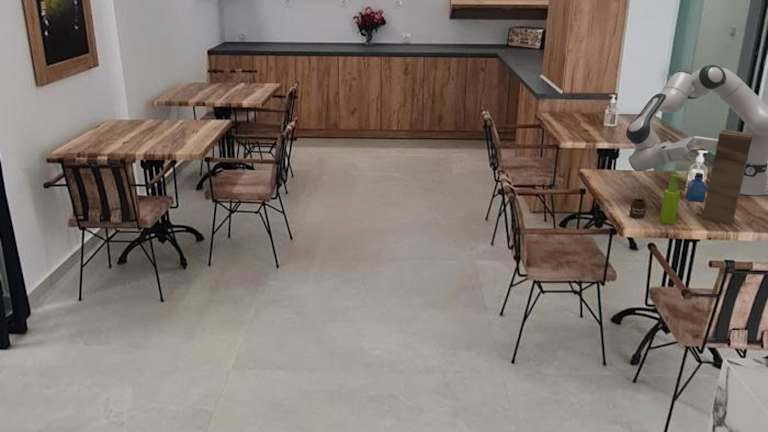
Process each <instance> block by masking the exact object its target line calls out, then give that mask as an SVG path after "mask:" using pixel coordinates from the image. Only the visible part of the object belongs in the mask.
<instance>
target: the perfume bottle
mask: <svg viewBox="0 0 768 432" xmlns="http://www.w3.org/2000/svg"><path fill="white" fill-rule="evenodd" d="M705 185H706V184H705V183H704V173H703V172H702V173H701V172H696V173H695V175H694V177H693V179H691V180H690V181H689V182H688V183H687V187H686V188H687V189H686V192H685V198H686V199H687V201H688V202H693V203H705V202H704V201H705V199H706V198H705V197H706V193H707V188H706V186H705Z"/></svg>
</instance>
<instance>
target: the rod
mask: <svg viewBox="0 0 768 432" xmlns="http://www.w3.org/2000/svg"><path fill="white" fill-rule="evenodd" d="M693 137H694V138H693V142H695V141H697V140H701V141H702V144H701V145H698V146H699V147H706V148H714V149H717V144H718V139H719V138H713V137H705V136H697V135H695V136H693Z"/></svg>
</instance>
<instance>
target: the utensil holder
mask: <svg viewBox="0 0 768 432" xmlns="http://www.w3.org/2000/svg"><path fill="white" fill-rule="evenodd" d="M650 191H651V189H648V191H647V192H646V194H645V198H644V199H643V198H640V197H639V191H638V190H636V196H635V195H632V198H633V199H632V203H631V204H630V207H629V208H630V209H629V216H630V217H631V218H634V219H639V220H641V219H644V218H645V215H646V210H647V206H646V205H647V203H646V202H647V201H646V200H647V198H648V196H649V193H650Z"/></svg>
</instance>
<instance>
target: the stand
mask: <svg viewBox="0 0 768 432" xmlns="http://www.w3.org/2000/svg"><path fill="white" fill-rule="evenodd" d="M718 135H719V136H718V138H717V139H718V144H717V148H715V153H714V154H715V156H714V158H713V163H712V169H711V174H710V177H709V183H708V189H707V191H706V193H707V194H706V196H705V197H706V198H705V202H704V207H703V212H702V217H701V219H702V220H705V221H710V222H715V223H720V224H725V225H731V226H732V224H733V222H734V220H735V217H736V213H737V208H738V203H739V199H740V195H741V194H740V190H741V186H742V181H743V177H744V172H745V168H746V164H747V159H748V154H749V149H750V145H751V140H752V136H753V133H745V132H744V131H743V132H742V131H736V130H728V129H722V130H721V131H720V132H719V134H718Z"/></svg>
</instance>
